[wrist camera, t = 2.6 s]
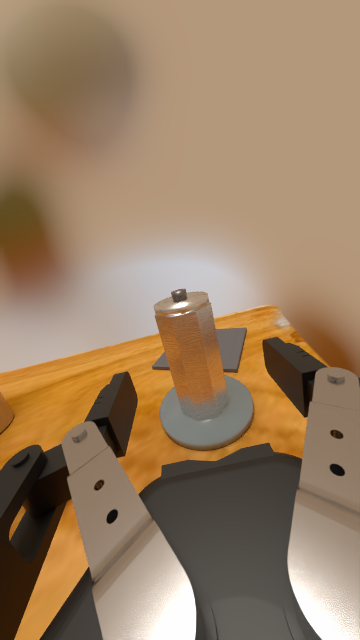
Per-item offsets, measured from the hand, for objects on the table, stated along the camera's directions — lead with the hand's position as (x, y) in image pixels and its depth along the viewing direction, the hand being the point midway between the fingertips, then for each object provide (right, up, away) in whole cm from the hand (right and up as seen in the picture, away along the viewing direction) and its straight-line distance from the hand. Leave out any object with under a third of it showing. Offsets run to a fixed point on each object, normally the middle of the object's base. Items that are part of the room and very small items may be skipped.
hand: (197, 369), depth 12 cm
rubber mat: (+4, -3, +31) cm, 31 cm away
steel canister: (+2, -8, +15) cm, 17 cm away
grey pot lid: (+2, -9, +15) cm, 18 cm away
